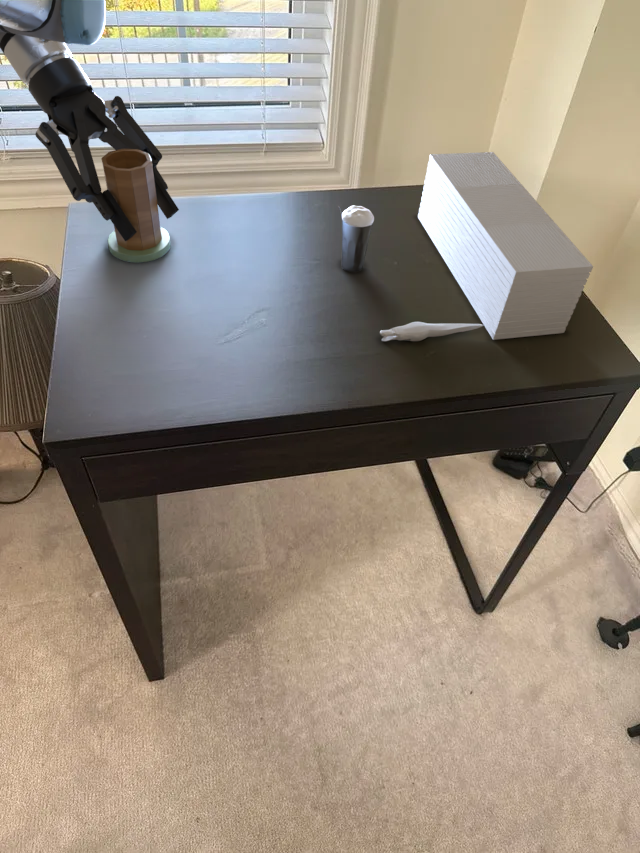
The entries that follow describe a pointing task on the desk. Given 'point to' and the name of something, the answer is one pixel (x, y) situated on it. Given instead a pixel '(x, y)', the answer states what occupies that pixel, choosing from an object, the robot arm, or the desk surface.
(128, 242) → the tube
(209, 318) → the desk surface
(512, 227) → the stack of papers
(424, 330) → the white tapered spindle
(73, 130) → the robot arm
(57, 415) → the desk surface
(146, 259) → the holder
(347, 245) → the milkshake
